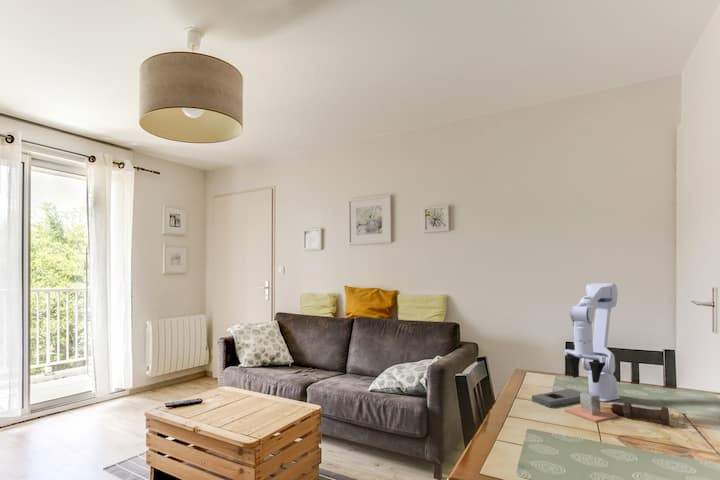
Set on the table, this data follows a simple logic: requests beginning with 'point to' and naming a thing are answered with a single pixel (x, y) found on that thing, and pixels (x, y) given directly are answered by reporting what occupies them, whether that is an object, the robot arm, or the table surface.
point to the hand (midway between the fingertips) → (585, 379)
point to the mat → (594, 418)
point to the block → (557, 398)
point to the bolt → (642, 412)
